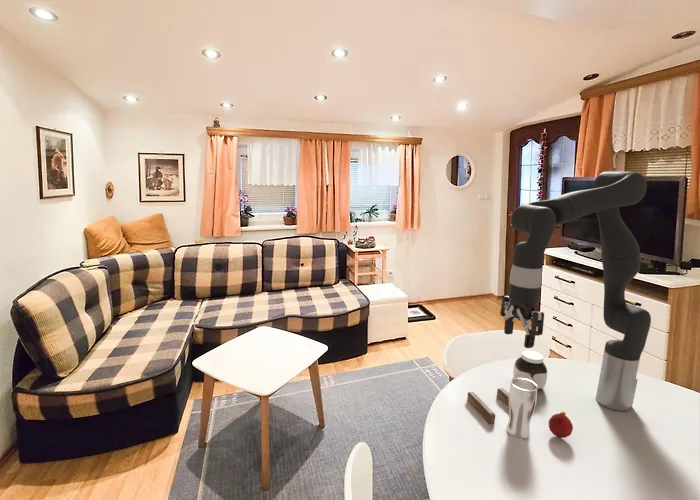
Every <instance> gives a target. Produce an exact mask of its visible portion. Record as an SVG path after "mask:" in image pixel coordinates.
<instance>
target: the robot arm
mask: <svg viewBox="0 0 700 500" xmlns="http://www.w3.org/2000/svg"><path fill="white" fill-rule="evenodd" d="M647 185H648V183H647V179H646V177H645V176H644V175H643V174H641V173H639V172H636V171H603V172H601V173H599V174H598V175H597V176H596V178H595V180H594V181H593V188H589V189H581V190H575V191H570V192H567V193H564V194H560V195H559V196H556V197H553V198H549V199H544V200H537V201H532V202H527V203H524V204H521V205H519V206H518V207H516V208H515V209H514V210H513V212H512V214H511V215H510V224H511V226H512V227H513V228H514V229H515V230H516V231H519V232H520V233H525V234H529V237H528V238H527V240H526V241H520V242H518V243H516V244H515V246H514V249H513V256H512V258H513V259H512V265H511V269H510V273H509V274H510V275H509V282H508V284H509V285H508V291H507V295H504V296H502V300H501V306H500V312H499V314H500V316H501V317H503V321H504V327H503V329H504V330H503V333H504V334H505V335H513V332H514V326H515V325H514V323H515V321H514V320H515V319H517V320H518V321H519V322H521V326H522V327H523V328H524V331H525V334H524V336H525V337H524V342H523V343H524V344H523V346H524V348H525V349H532V348H534V346H535V340H536V336H542V335H543V333H544V331H543V330H544V321H545V313H544V311H537V310H536V305H537V303H539V301H540V294H541V290H542V289H541V287H542V280H543V264H544V256H545V255H544V254H545V251H546V249H547V247H548V245H549V242H550V240H551V237H552V236H553V234H554V231H555V228H556V225H562V224H565V223H569V222H571V221H574V220H576V219H579V218H582V217H585V216H587V215H590V214H595V213H596V217H597V221H598V226H599V234H600V237H599V238H600V248H601V262H602V270H603V289H604V290H603V291H604V292H603V296H604V297H603V321H604V324H605V325H606V326H607V328H609V329H611V330H613V331H616V332H617V333H621V334H622V335H624V336H623V339H622V340H621V339H610V340H607V341H606V342H605V346H604V349H603V356H602V362H601V366H600V373H599V378H598V384H597V387H596V388H597V389H596V393H595V394H596V395H595V401H597V402H598V403H599V404H600V405H601V406H602V407H605V408H606V409H610V410H613V411H617V412H628V411H629V410H630V408H632V407H633V404H634V401H635V400H634V399H635V395H636V394H635V393H636V391H637V390H636V389H637V385H638V379H637V376H638V375H637V374H638V370H639V369H638V368H639V365H640V360H641V355H642V353H643V351H644V350H645V346H646V343H647V339H648V335H649V333H650V328H651V324H652V317H651V314H650V312H649V311H648V310H646V309H644V308H641V307H639V306H635V305H633V304H630V303H627V302H626V296H625V292H626V288H627V286H628V285H630V283H631V281H632V280H633V279H634V278H635V277H636V275H637V274H638V273H639V272H640V268H641V250H640V246H639V245H640V244H639V242H638V241H637V239H636V237H635V236H634V234H633V233H632V231H631V230H630V229H629V228H628V226H627V225H626V224H625V222H624V220H623V218H622V216H621V213H620V207H629V206H633V205H635V204H638V203H640V201H642V199H643V198H644V197H645V195H646V193H647V189H648V188H647V187H648V186H647ZM530 328H531V329H530Z"/></svg>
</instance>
